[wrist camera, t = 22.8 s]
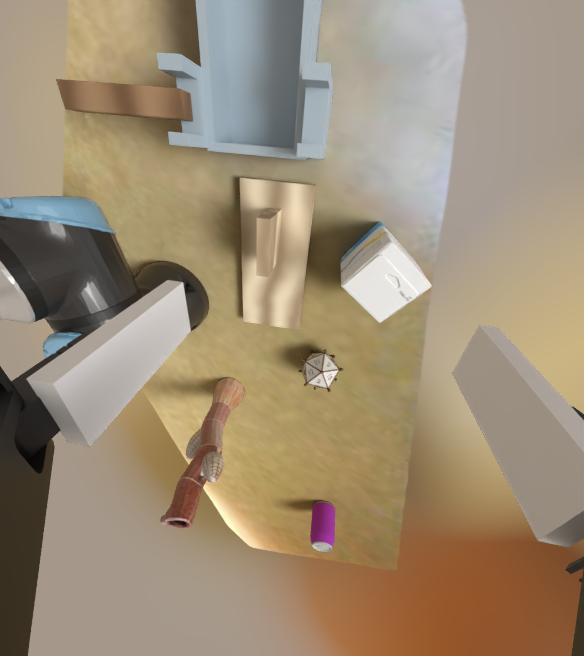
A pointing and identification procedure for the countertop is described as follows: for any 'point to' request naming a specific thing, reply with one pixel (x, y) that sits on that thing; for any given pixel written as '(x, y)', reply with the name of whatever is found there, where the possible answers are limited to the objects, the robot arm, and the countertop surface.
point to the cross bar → (126, 100)
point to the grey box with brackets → (255, 80)
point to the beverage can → (323, 526)
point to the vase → (204, 455)
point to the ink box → (381, 274)
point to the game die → (320, 370)
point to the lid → (274, 249)
